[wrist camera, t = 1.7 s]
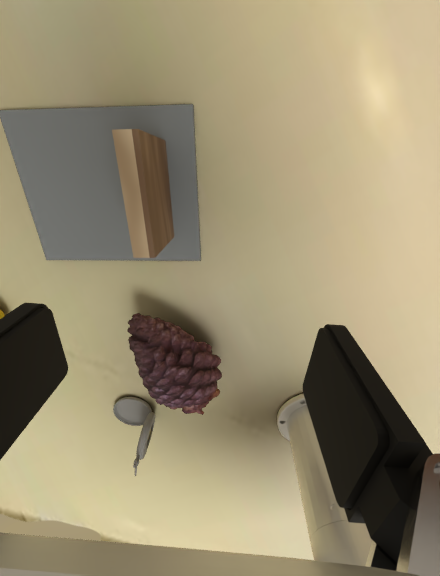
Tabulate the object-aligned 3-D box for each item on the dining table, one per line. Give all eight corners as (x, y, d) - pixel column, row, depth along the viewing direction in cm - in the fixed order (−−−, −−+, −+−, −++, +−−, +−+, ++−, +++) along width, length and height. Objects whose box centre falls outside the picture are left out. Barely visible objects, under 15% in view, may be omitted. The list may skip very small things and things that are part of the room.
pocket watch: (108, 399, 44) (75, 459, 34) (150, 388, 42) (127, 448, 33) (132, 429, 47) (107, 491, 38) (172, 420, 45) (156, 483, 36)
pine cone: (122, 310, 36) (83, 358, 27) (179, 279, 33) (158, 320, 24) (189, 392, 42) (177, 453, 33) (242, 371, 39) (244, 431, 30)
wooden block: (165, 140, 26) (138, 128, 19) (174, 236, 30) (155, 257, 23) (146, 140, 26) (111, 129, 19) (158, 236, 30) (133, 257, 23)
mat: (193, 105, 25) (192, 104, 24) (200, 259, 32) (200, 260, 31) (1, 111, 26) (-3, 110, 25) (49, 258, 33) (46, 259, 32)
